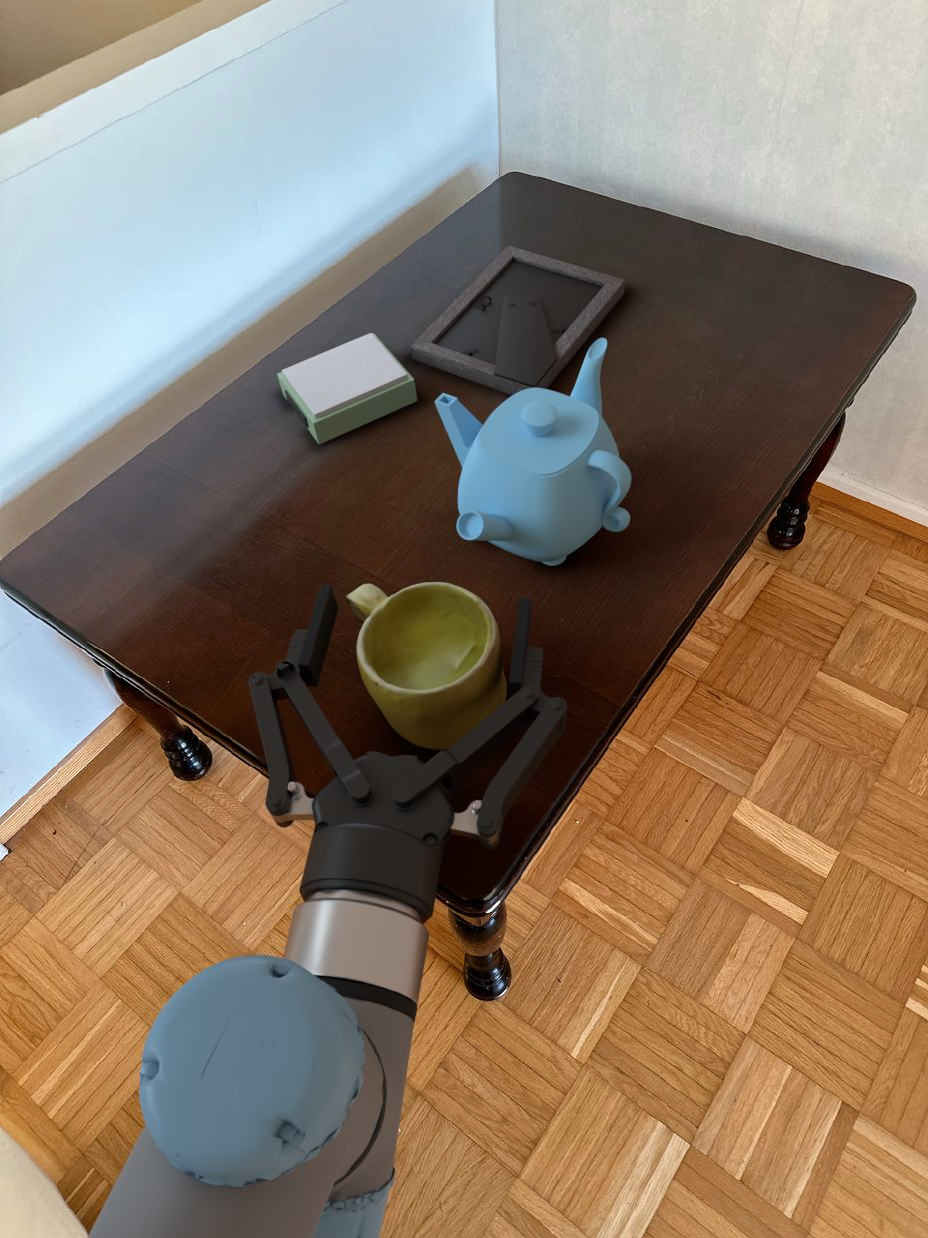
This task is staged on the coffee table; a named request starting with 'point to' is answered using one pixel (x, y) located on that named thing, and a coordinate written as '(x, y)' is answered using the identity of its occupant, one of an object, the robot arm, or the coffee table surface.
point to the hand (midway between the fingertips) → (426, 602)
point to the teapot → (539, 468)
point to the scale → (347, 387)
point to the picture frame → (519, 321)
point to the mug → (429, 659)
